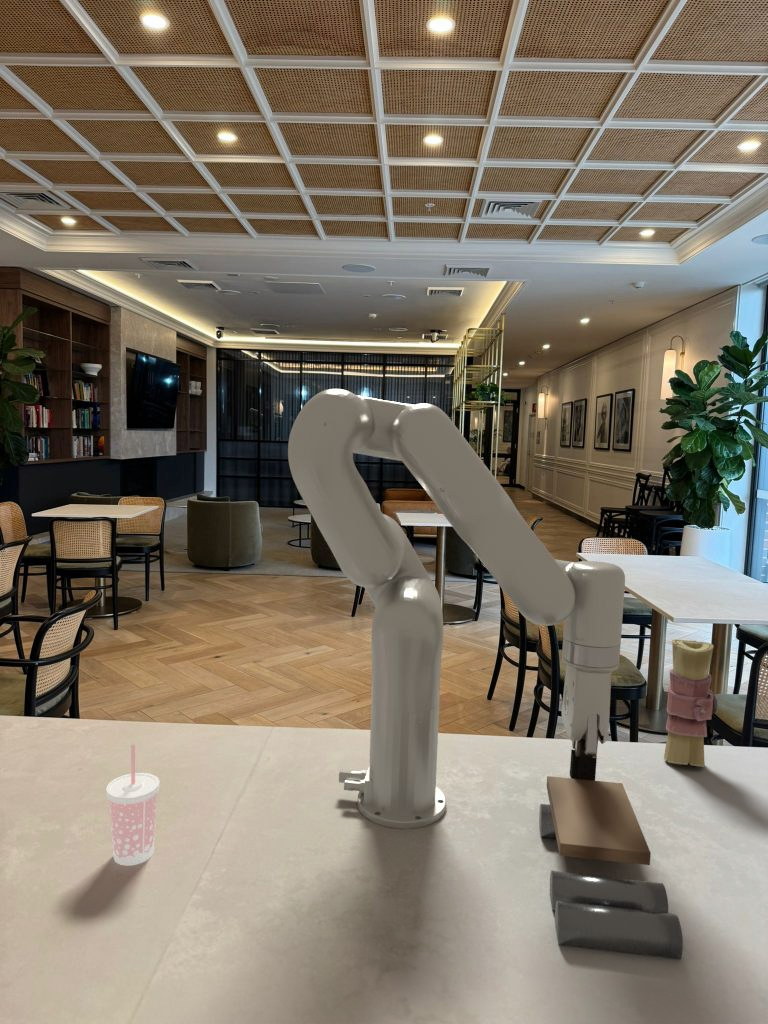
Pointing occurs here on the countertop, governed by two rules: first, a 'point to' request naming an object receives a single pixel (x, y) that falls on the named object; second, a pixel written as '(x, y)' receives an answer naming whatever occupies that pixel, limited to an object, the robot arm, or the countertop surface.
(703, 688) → the scroll
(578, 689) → the robot arm
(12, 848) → the countertop surface
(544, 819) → the cylinder
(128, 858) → the beverage cup
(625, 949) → the roller
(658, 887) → the roller front
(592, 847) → the slab
